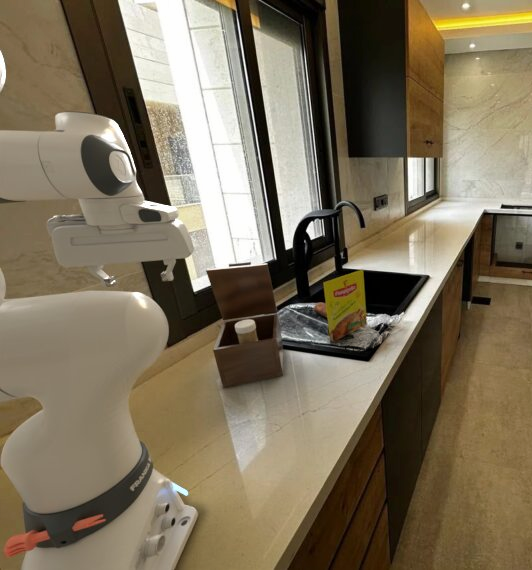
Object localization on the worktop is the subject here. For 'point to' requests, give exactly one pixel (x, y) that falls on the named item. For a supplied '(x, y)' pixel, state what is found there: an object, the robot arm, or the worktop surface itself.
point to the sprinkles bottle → (246, 331)
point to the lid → (242, 290)
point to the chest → (249, 352)
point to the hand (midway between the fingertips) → (140, 283)
